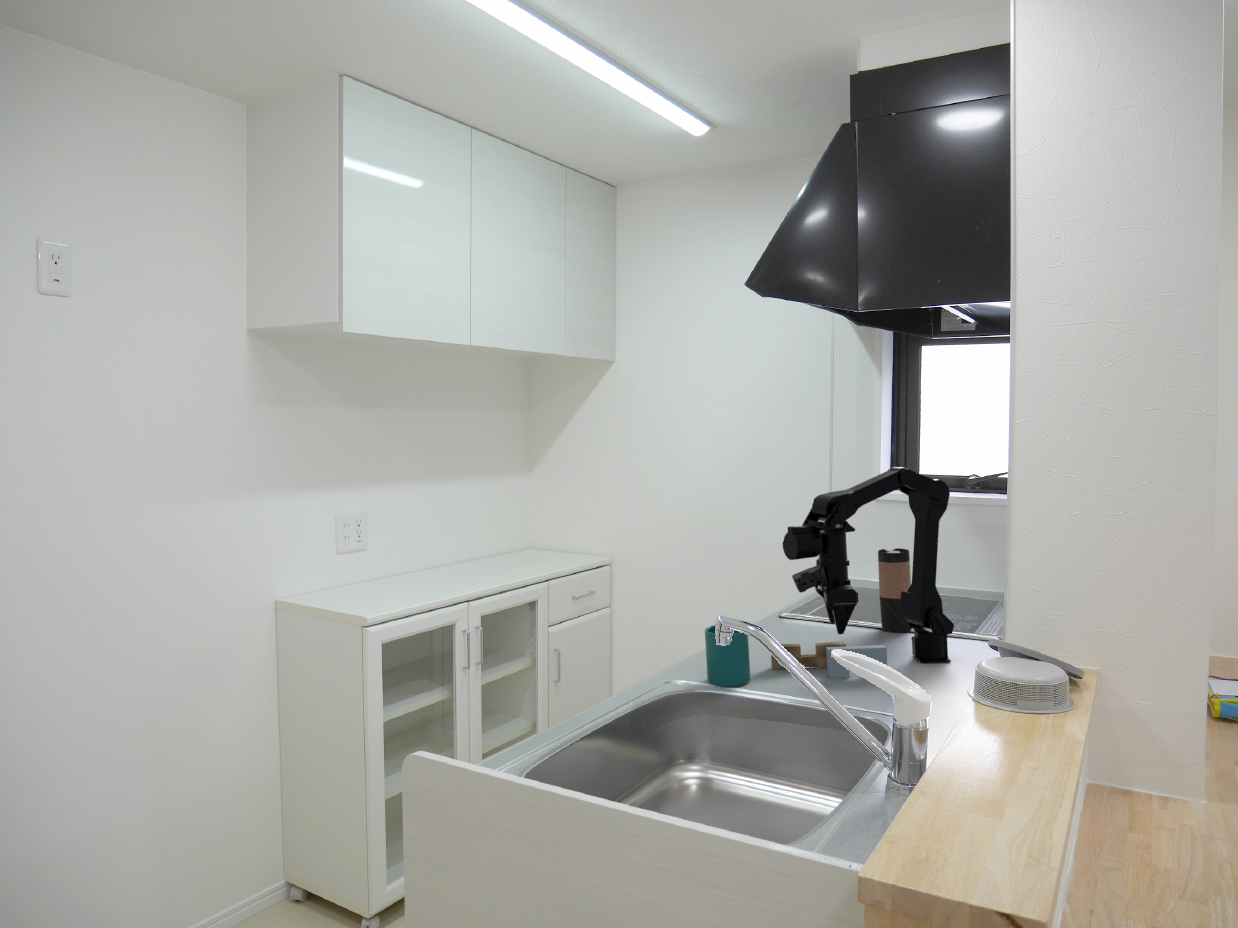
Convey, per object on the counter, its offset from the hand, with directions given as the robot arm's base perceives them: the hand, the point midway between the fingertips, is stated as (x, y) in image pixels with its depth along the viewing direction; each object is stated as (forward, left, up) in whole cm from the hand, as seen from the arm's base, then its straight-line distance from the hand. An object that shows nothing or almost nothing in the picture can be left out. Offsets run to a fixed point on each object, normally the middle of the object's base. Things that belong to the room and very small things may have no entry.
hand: (836, 628), depth 172 cm
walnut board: (+5, -7, -10) cm, 13 cm away
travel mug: (-21, -36, -10) cm, 43 cm away
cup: (+22, 0, -10) cm, 24 cm away
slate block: (-4, 0, -10) cm, 11 cm away
